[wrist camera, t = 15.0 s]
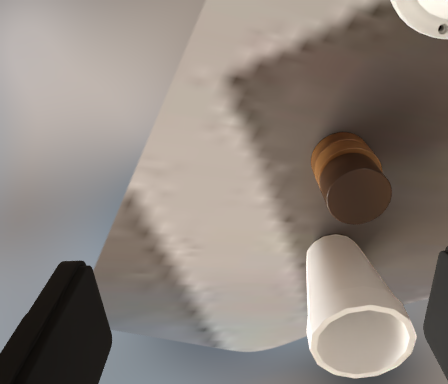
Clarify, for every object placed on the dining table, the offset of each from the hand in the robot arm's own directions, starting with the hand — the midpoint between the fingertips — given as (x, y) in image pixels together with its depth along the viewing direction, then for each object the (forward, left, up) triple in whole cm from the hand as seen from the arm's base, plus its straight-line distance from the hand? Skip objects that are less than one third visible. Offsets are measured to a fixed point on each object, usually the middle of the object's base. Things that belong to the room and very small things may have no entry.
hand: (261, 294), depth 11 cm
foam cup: (-2, +24, -31) cm, 39 cm away
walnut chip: (-6, +12, -26) cm, 29 cm away
